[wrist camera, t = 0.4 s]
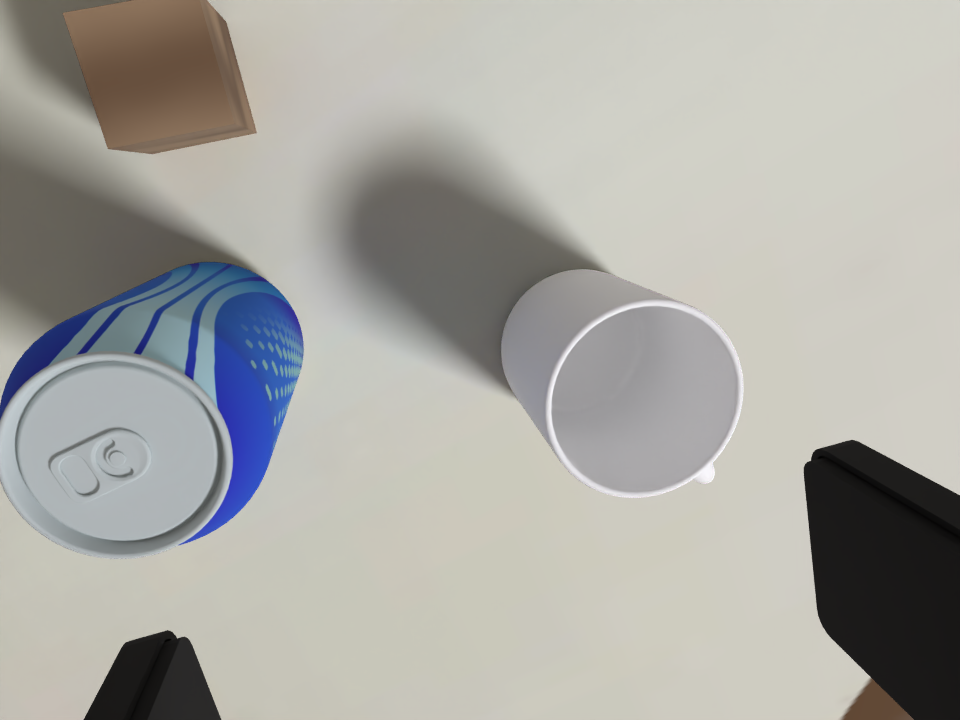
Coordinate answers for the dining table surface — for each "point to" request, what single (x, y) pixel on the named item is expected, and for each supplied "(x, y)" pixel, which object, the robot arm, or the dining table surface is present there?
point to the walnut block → (160, 74)
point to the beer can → (150, 412)
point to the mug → (623, 381)
